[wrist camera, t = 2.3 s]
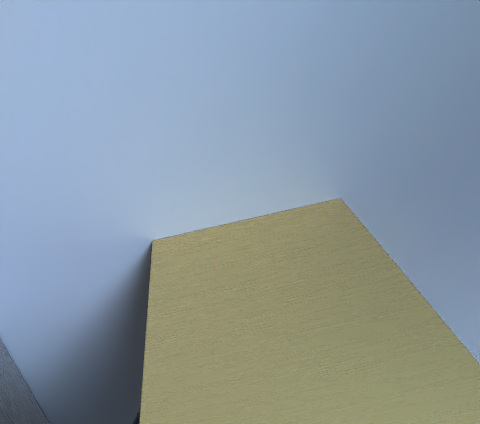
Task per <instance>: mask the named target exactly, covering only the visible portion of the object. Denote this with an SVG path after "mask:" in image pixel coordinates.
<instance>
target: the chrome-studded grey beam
mask: <svg viewBox="0 0 480 424" xmlns="http://www.w3.org/2000/svg"><path fill="white" fill-rule="evenodd" d="M0 424H49V423H48V421H47V419H46V418H45V416H44V414H43V412H42V411H41V409H40V407H39V405H38V404H37V402H36V400H35V399H34V397H33V395H32V393H31V392H30V390H29V388H28V386H27V385H26V383H25V381H24V379H23V378H22V376H21V374H20V373H19V371H18V369H17V367H16V366H15V364H14V362H13V360H12V359H11V357H10V355H9V353H8V352H7V350H6V348H5V347H4V345H3V343H2V341H1V340H0Z"/></svg>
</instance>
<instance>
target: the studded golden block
mask: <svg viewBox="0 0 480 424" xmlns="http://www.w3.org/2000/svg"><path fill="white" fill-rule="evenodd" d="M140 424H480V364H479V363H478V362H477V361H476V359H475V358H474V357H473V356H472V355H471V353H470V352H469V351H468V350H467V349H466V347H465V346H464V345H463V344H462V343H461V341H460V340H459V339H458V338H457V337H456V335H455V334H454V333H453V332H452V331H451V329H450V328H449V327H448V326H447V325H446V323H445V322H444V321H443V320H442V319H441V317H440V316H439V315H438V314H437V313H436V311H435V310H434V309H433V308H432V307H431V305H430V304H429V303H428V302H427V301H426V299H425V298H424V297H423V296H422V295H421V294H420V292H419V291H418V290H417V289H416V288H415V286H414V285H413V284H412V283H411V282H410V280H409V279H408V278H407V277H406V276H405V274H404V273H403V272H402V271H401V270H400V268H399V267H398V266H397V265H396V264H395V262H394V261H393V260H392V259H391V258H390V256H389V255H388V254H387V253H386V252H385V250H384V249H383V248H382V247H381V246H380V244H379V243H378V242H377V241H376V240H375V238H374V237H373V236H372V235H371V234H370V232H369V231H368V230H367V229H366V228H365V226H364V225H363V224H362V223H361V222H360V220H359V219H358V218H357V217H356V216H355V214H354V213H353V212H352V211H351V210H350V208H349V207H348V206H347V205H346V204H345V202H344V201H343V200H342V199H341V198H340V199H335V200H331V201H326V202H322V203H318V204H313V205H309V206H304V207H300V208H295V209H291V210H287V211H282V212H278V213H273V214H269V215H264V216H260V217H256V218H251V219H247V220H242V221H238V222H233V223H229V224H225V225H220V226H216V227H211V228H207V229H202V230H198V231H194V232H189V233H185V234H180V235H176V236H172V237H167V238H163V239H158V240H154V241H153V243H152V257H151V271H150V285H149V298H148V312H147V326H146V340H145V354H144V368H143V382H142V396H141V410H140Z"/></svg>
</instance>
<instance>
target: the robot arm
mask: <svg viewBox="0 0 480 424" xmlns="http://www.w3.org/2000/svg"><path fill="white" fill-rule="evenodd" d="M140 410H141V408H140ZM140 410H139V412H138V414H137V416H136V418H135V420H134V422H133V424H140Z"/></svg>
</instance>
